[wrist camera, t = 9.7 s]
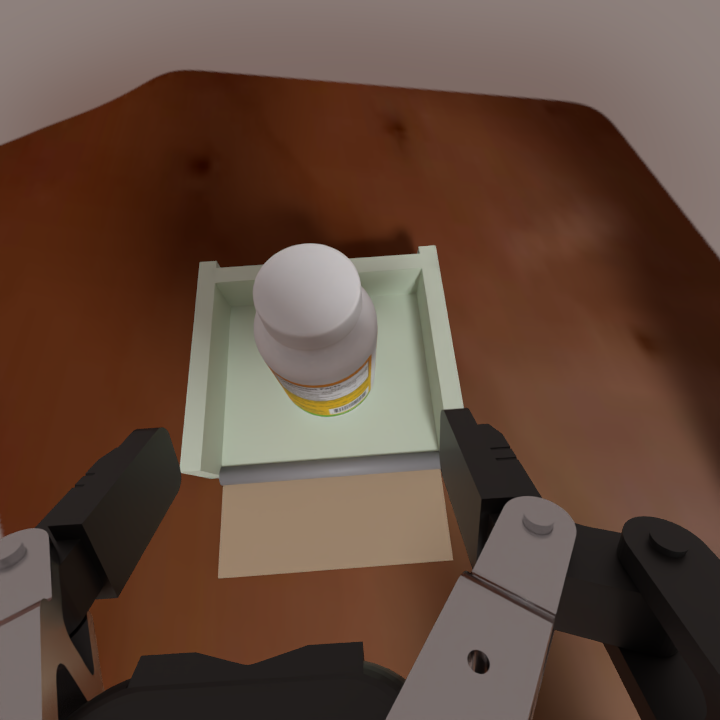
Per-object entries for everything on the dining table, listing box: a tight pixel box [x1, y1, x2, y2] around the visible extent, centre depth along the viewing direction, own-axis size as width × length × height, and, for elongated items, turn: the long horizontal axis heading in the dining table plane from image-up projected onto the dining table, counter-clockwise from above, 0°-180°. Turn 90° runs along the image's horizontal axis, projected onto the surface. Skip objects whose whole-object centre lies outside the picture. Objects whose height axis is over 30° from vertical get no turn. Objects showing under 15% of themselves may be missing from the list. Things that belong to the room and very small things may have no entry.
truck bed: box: [180, 246, 464, 578], centre depth 22 cm, size 14×17×4 cm
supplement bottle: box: [253, 243, 378, 418], centre depth 18 cm, size 5×5×10 cm
